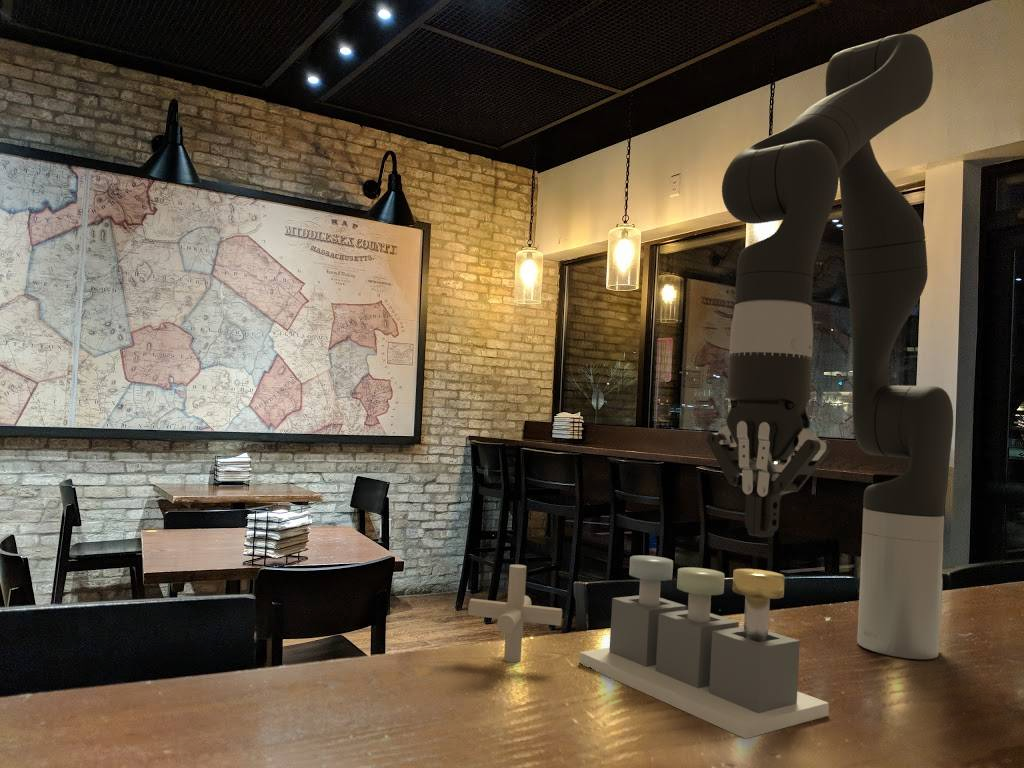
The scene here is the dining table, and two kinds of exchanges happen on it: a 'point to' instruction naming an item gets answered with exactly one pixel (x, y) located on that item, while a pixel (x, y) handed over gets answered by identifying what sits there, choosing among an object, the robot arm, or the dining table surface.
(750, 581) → the brass plug
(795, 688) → the socket board
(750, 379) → the robot arm
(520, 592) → the pipe connector
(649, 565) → the slate plug
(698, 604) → the sage plug
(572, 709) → the dining table surface
